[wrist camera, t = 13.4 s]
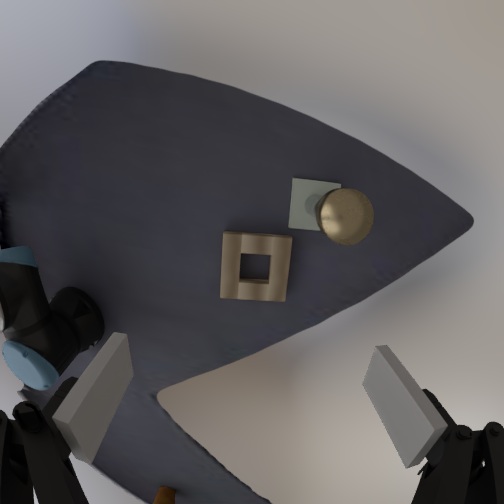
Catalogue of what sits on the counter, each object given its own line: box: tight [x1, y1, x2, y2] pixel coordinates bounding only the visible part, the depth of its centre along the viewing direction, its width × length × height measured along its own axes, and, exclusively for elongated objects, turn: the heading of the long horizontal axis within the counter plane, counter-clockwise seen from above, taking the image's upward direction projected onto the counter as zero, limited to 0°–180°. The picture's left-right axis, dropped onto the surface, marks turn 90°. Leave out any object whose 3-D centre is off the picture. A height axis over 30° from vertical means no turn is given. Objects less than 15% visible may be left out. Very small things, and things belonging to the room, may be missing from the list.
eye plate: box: [220, 231, 292, 302], centre depth 51 cm, size 12×12×2 cm
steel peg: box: [305, 188, 374, 245], centre depth 41 cm, size 7×7×17 cm
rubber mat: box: [288, 178, 341, 231], centre depth 50 cm, size 9×9×1 cm
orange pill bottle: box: [153, 487, 175, 504], centre depth 68 cm, size 10×10×12 cm
